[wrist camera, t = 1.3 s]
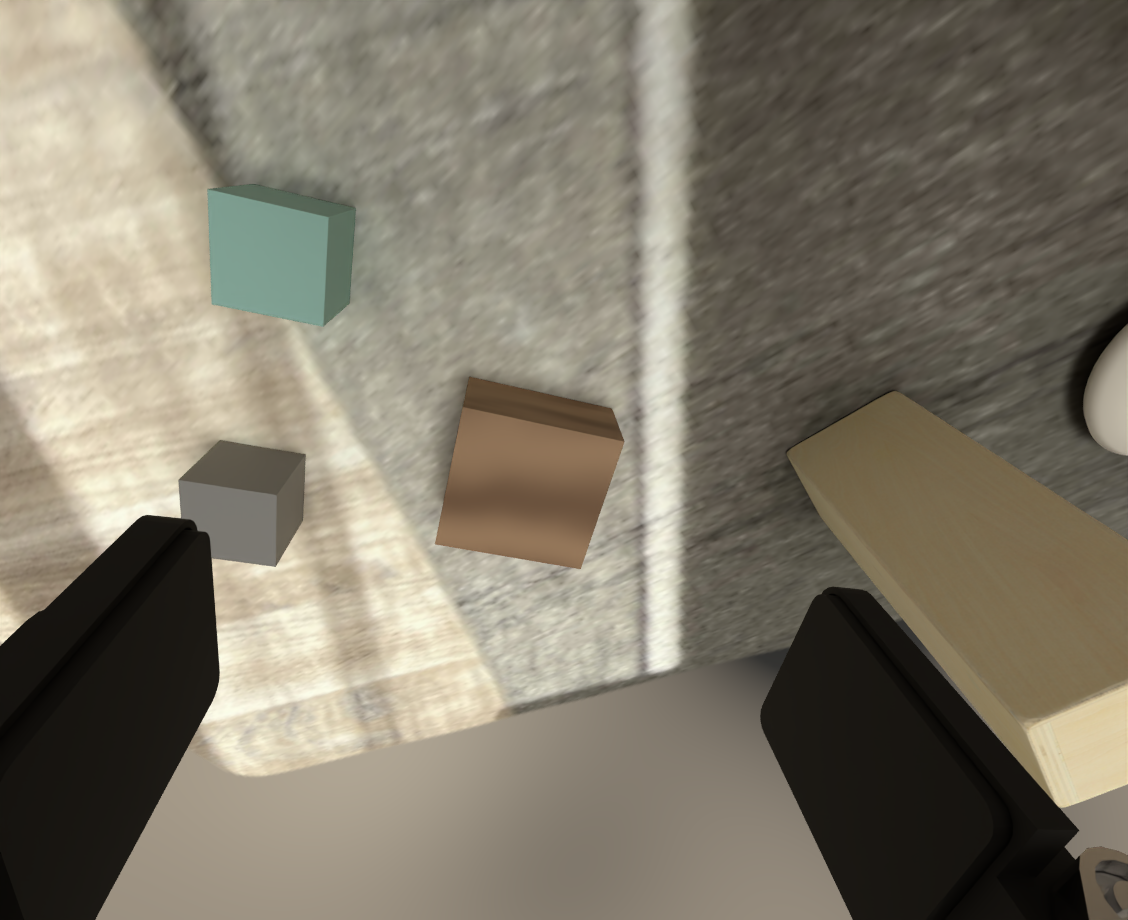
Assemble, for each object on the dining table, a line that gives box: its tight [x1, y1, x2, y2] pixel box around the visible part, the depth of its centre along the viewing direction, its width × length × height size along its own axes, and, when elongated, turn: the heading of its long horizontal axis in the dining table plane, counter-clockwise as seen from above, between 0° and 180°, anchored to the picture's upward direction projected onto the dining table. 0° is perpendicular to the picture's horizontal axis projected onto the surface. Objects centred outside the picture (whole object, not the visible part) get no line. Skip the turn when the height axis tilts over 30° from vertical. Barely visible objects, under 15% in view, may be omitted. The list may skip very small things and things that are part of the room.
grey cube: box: [179, 440, 306, 567], centre depth 35 cm, size 5×5×5 cm
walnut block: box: [435, 377, 624, 569], centre depth 36 cm, size 9×9×5 cm
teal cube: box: [208, 184, 356, 327], centre depth 29 cm, size 5×5×5 cm
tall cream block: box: [787, 391, 1128, 808], centre depth 30 cm, size 8×7×21 cm
